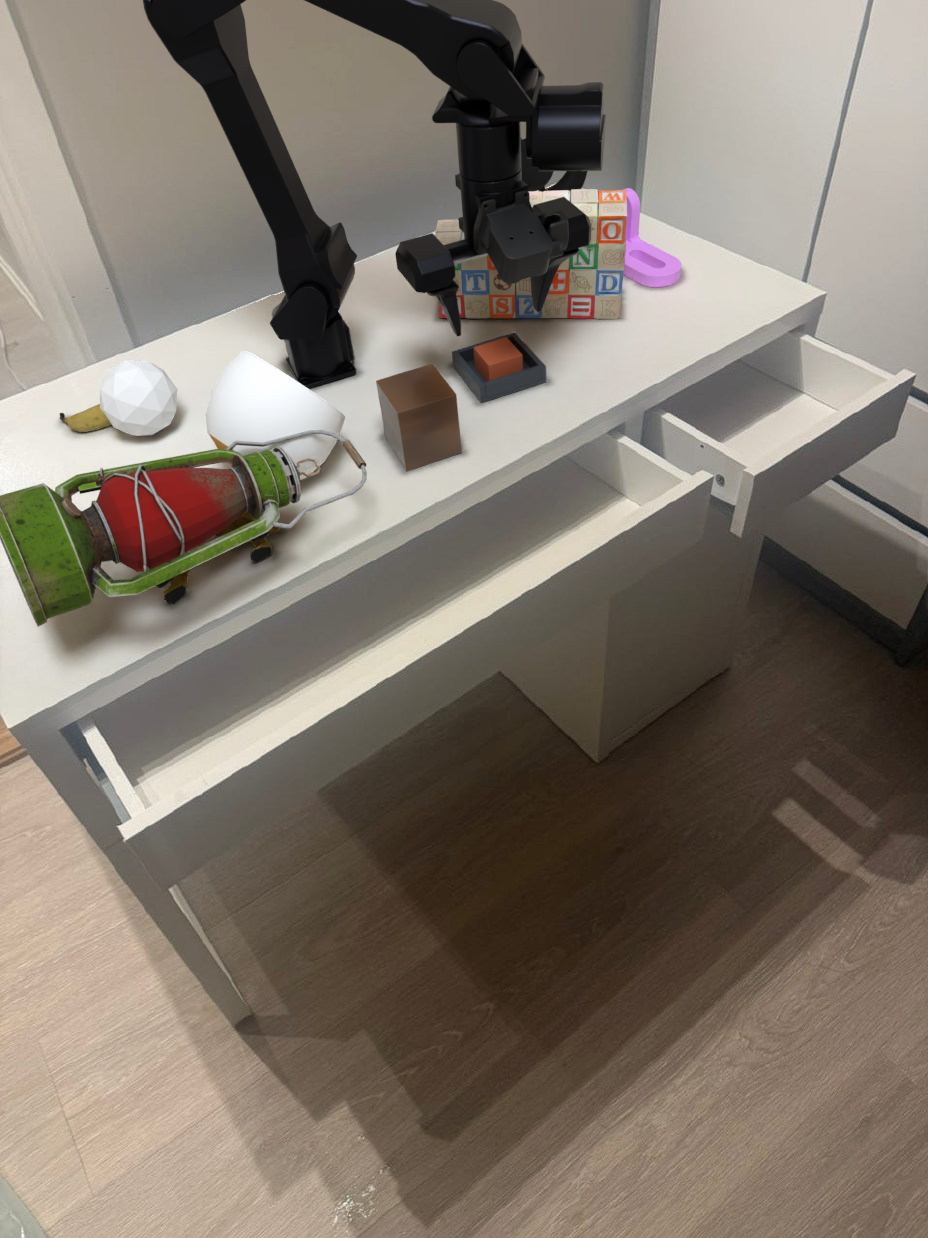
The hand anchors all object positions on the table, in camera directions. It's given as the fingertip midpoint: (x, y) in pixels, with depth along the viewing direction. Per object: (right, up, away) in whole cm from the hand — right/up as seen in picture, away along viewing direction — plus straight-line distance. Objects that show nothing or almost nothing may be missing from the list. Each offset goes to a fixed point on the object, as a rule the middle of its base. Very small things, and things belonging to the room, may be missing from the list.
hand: (497, 322), depth 96 cm
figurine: (-26, -27, -15) cm, 40 cm away
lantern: (-38, -27, -26) cm, 53 cm away
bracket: (+18, +13, +18) cm, 29 cm away
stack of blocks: (+4, +6, +14) cm, 16 cm away
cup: (-25, -17, -8) cm, 31 cm away
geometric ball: (-37, -11, +3) cm, 39 cm away
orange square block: (0, -4, +4) cm, 6 cm away
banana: (-42, -10, +2) cm, 43 cm away
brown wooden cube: (-8, -13, -3) cm, 16 cm away
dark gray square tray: (0, -4, +5) cm, 6 cm away
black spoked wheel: (+5, +24, +20) cm, 32 cm away
